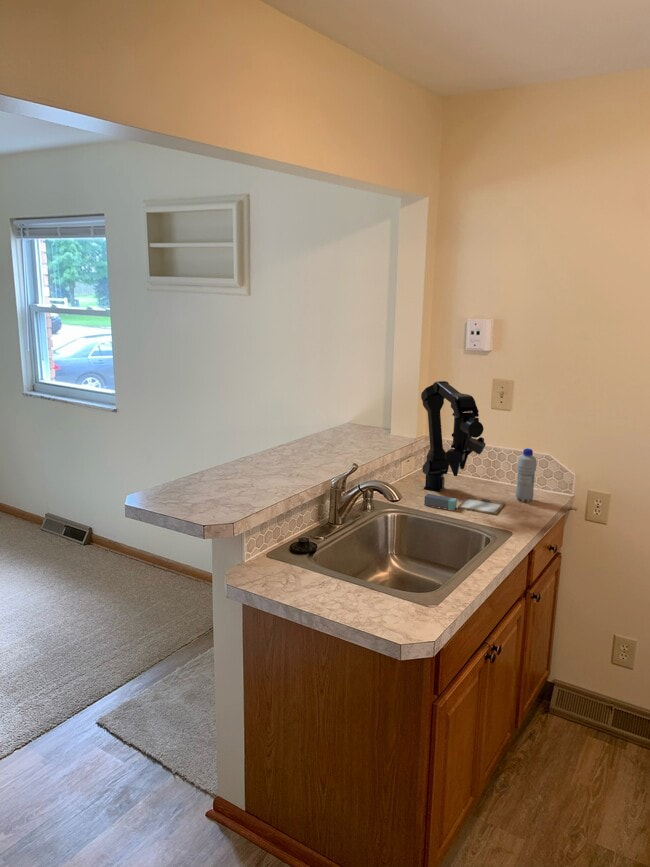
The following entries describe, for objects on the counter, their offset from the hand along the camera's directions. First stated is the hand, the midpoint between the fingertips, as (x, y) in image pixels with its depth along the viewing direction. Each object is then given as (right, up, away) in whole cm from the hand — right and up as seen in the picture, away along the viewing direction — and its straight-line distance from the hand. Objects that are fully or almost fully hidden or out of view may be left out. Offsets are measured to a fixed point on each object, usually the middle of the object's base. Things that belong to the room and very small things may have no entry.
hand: (458, 472), depth 241 cm
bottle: (+26, -11, +9) cm, 30 cm away
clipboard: (+9, -13, +2) cm, 15 cm away
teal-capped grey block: (-6, -13, +1) cm, 14 cm away
